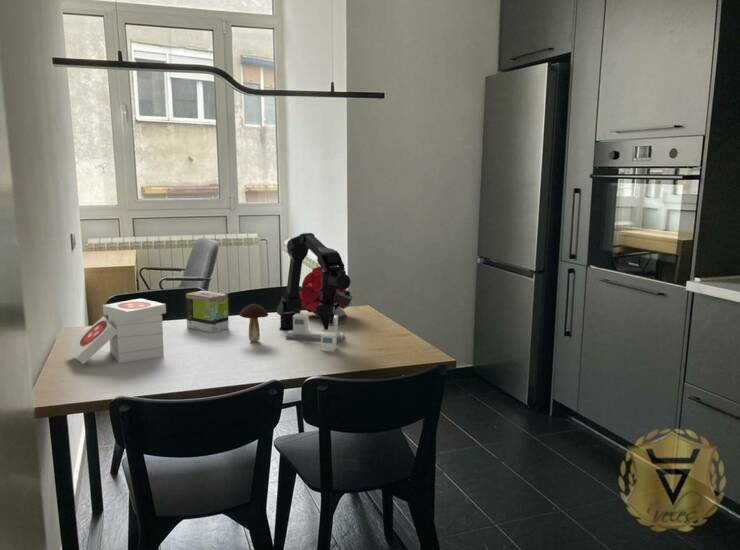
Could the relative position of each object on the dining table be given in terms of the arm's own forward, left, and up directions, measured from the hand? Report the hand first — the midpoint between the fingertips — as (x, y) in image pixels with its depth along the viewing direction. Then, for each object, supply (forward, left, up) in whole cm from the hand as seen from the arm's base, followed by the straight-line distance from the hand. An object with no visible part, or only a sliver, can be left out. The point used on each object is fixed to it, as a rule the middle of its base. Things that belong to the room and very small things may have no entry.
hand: (328, 326), depth 221 cm
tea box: (-55, +20, -9) cm, 59 cm away
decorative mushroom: (-30, +4, -9) cm, 31 cm away
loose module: (0, 0, -9) cm, 9 cm away
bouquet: (-10, +48, -9) cm, 50 cm away
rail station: (-8, +14, -9) cm, 18 cm away
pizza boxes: (-70, -22, -9) cm, 74 cm away
